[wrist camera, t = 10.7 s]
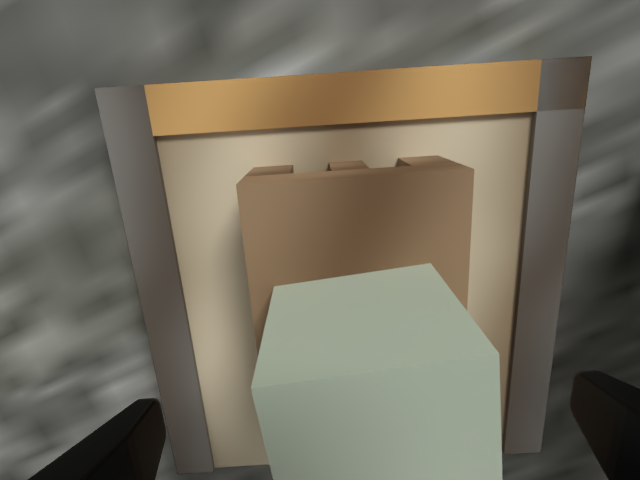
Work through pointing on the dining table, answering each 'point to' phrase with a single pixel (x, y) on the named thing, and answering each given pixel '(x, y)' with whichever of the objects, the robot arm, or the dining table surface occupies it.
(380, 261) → the walnut pallet
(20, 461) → the dining table surface
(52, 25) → the dining table surface
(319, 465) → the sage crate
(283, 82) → the birch dock
